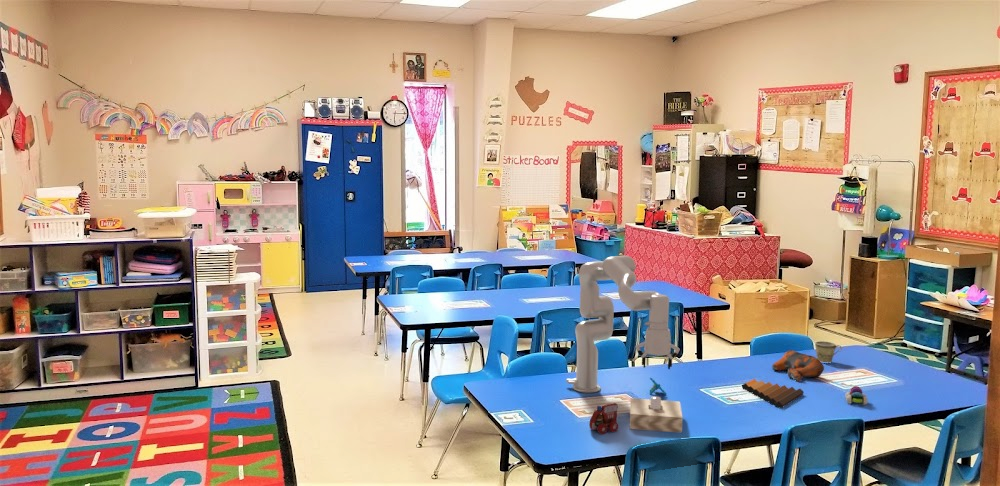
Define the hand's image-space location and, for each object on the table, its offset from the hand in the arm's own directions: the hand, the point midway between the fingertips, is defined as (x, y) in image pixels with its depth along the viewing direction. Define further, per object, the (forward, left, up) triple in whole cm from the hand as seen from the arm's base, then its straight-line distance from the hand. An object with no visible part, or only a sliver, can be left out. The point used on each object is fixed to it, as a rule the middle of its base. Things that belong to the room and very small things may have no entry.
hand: (656, 367), depth 307 cm
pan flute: (+50, +46, -23) cm, 72 cm away
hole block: (0, -1, -22) cm, 22 cm away
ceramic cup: (+91, +112, -23) cm, 147 cm away
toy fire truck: (-20, -15, -23) cm, 33 cm away
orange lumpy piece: (+69, +86, -23) cm, 113 cm away
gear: (+2, +37, -23) cm, 44 cm away
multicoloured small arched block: (+88, +44, -23) cm, 101 cm away
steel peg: (0, -1, -22) cm, 22 cm away
